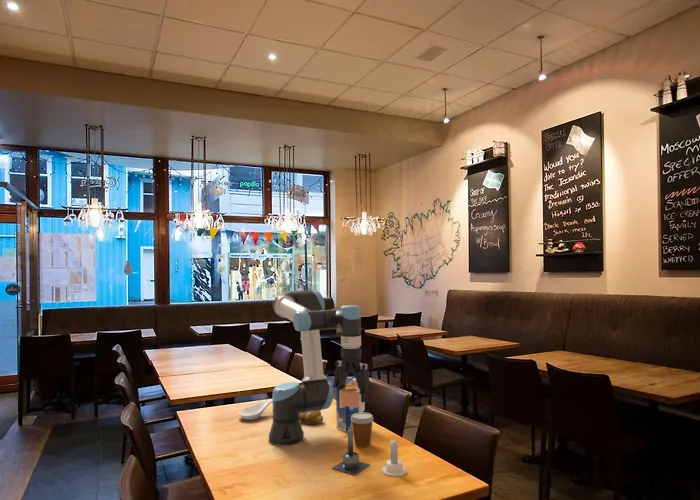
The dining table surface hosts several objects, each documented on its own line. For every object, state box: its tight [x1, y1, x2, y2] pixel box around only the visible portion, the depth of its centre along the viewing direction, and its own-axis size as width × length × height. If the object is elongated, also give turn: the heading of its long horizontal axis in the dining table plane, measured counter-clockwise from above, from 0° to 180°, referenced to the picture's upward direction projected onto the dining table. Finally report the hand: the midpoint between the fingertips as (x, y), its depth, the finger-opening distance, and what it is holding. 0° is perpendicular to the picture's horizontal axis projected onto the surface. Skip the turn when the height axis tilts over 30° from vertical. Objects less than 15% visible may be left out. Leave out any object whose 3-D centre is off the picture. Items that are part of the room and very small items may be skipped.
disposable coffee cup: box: [351, 412, 375, 448], centre depth 195 cm, size 10×10×12 cm
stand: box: [331, 429, 371, 476], centre depth 173 cm, size 10×10×14 cm
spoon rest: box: [238, 398, 273, 421], centre depth 236 cm, size 24×12×7 cm, turn 131°
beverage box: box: [335, 375, 365, 433], centre depth 217 cm, size 7×11×22 cm, turn 133°
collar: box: [340, 387, 360, 407], centre depth 173 cm, size 8×8×5 cm
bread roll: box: [300, 410, 324, 425], centre depth 225 cm, size 13×10×8 cm
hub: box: [381, 439, 408, 478], centre depth 169 cm, size 9×9×10 cm
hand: (352, 408), depth 173 cm, fingers closed on collar, 8 cm apart
